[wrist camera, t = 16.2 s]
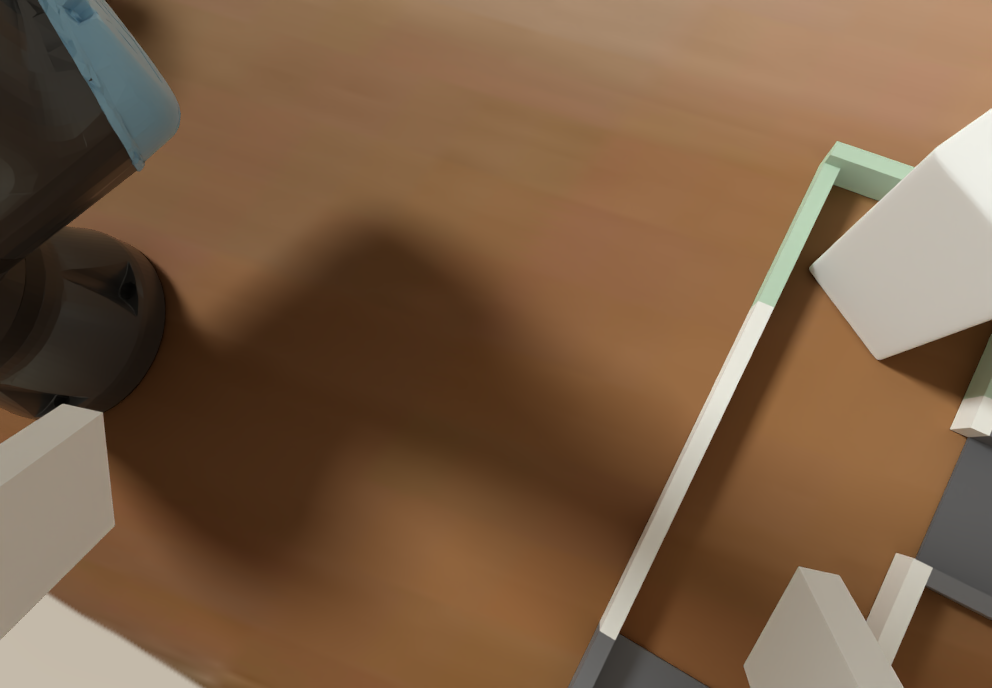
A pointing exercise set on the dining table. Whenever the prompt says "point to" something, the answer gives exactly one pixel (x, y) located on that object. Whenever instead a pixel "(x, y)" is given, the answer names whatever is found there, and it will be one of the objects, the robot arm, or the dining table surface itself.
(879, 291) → the milk carton
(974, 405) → the trap lane
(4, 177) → the robot arm
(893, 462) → the dining table surface
